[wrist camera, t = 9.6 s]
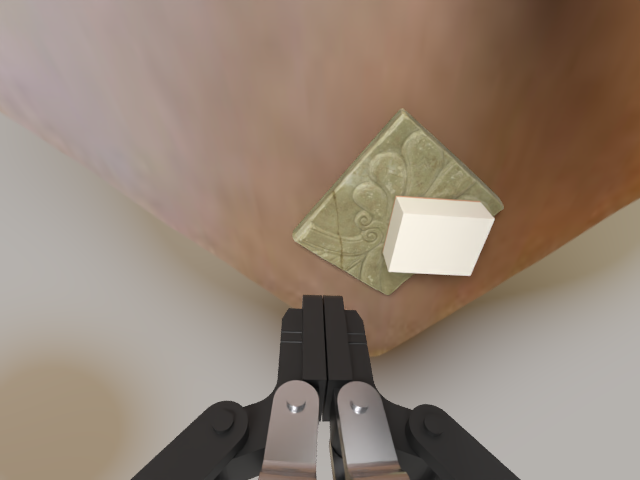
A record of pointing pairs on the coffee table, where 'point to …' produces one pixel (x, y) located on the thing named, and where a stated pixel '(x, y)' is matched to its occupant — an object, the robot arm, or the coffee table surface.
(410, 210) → the white rectangular block
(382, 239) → the decorative tile
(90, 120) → the coffee table surface
